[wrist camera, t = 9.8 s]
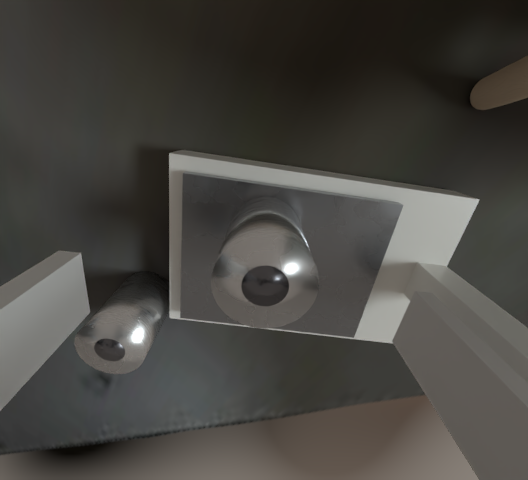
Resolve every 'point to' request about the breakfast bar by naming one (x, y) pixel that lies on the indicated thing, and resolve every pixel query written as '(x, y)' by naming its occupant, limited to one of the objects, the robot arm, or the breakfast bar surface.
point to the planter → (502, 86)
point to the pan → (317, 236)
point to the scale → (396, 257)
